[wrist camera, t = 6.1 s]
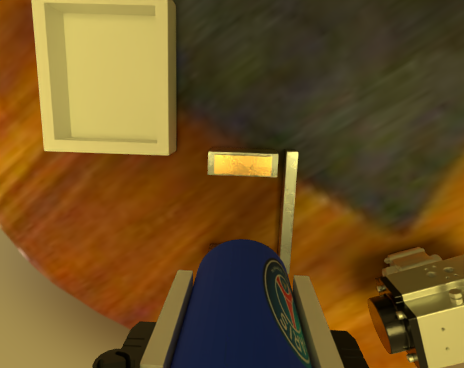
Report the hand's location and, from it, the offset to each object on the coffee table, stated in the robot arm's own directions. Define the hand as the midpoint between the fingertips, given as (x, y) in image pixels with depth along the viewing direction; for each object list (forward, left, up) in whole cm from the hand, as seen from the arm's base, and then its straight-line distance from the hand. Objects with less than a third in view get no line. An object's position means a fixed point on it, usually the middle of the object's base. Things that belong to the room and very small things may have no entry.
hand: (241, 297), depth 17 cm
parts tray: (-12, -12, -17) cm, 24 cm away
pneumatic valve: (+5, +17, -17) cm, 25 cm away
